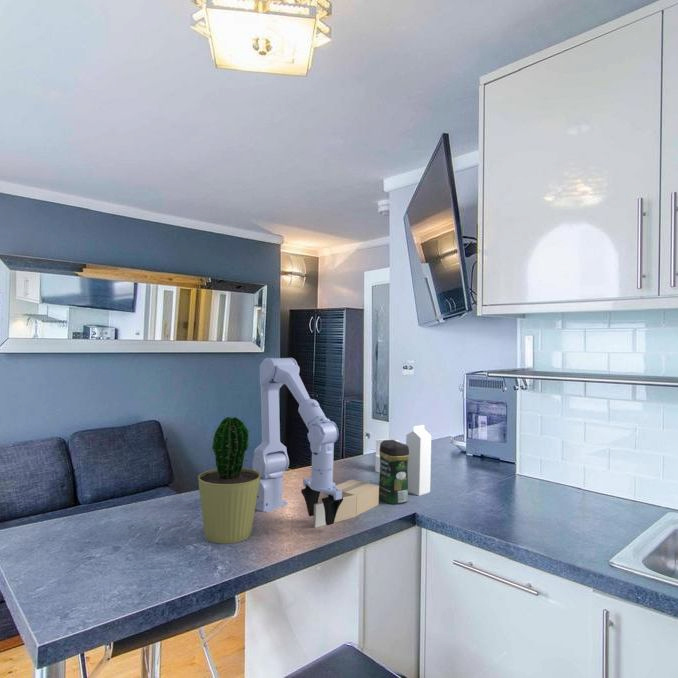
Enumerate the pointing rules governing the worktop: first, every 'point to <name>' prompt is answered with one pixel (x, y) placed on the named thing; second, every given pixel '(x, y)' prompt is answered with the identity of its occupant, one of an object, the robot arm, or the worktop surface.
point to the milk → (419, 460)
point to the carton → (361, 494)
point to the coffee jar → (393, 472)
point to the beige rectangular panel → (343, 512)
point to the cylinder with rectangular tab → (377, 462)
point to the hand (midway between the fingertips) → (321, 519)
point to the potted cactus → (229, 486)
